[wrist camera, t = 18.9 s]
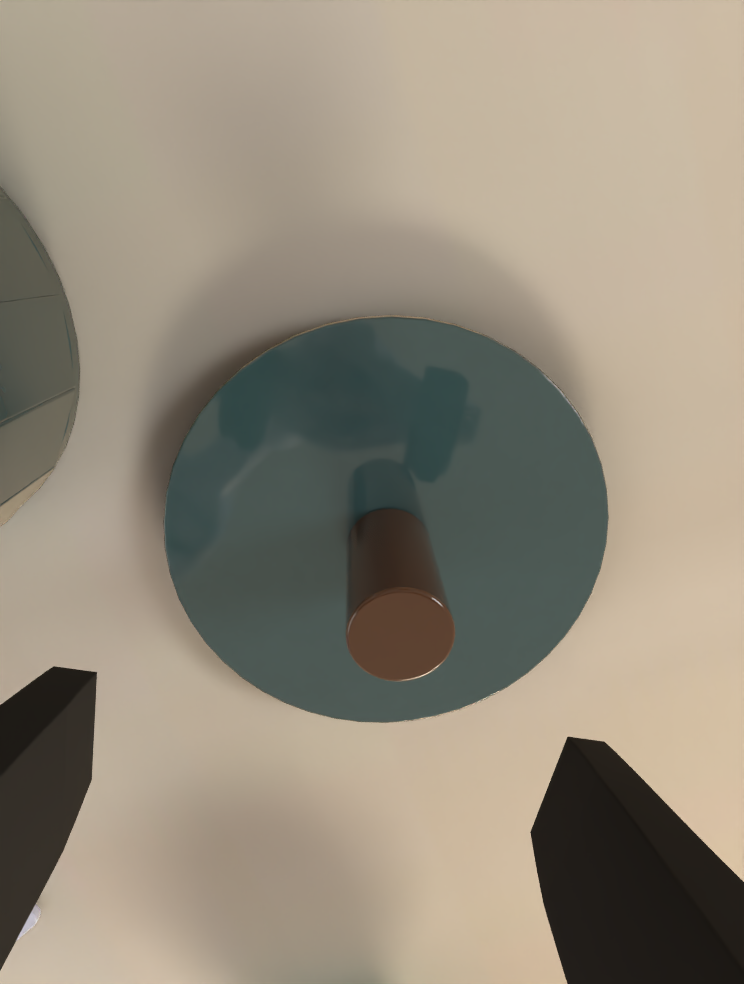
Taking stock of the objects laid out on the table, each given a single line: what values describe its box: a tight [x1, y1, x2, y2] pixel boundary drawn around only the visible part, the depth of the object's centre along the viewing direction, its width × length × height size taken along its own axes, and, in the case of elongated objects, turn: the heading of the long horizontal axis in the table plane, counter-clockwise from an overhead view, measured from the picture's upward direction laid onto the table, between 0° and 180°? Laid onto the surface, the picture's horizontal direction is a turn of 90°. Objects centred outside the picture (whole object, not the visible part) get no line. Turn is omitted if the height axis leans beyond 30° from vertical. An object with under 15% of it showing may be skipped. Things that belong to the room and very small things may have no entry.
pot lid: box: [163, 315, 608, 723], centre depth 16 cm, size 13×13×6 cm
